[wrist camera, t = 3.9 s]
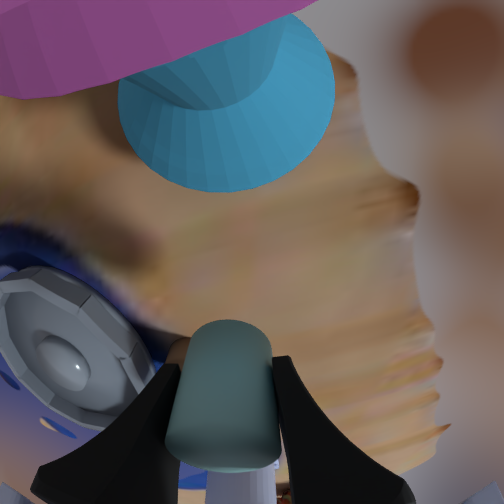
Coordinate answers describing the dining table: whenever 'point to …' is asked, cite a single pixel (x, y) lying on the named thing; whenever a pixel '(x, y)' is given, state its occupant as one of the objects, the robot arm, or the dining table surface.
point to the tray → (71, 346)
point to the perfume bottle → (183, 79)
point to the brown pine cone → (285, 498)
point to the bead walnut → (178, 352)
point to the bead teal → (226, 401)
